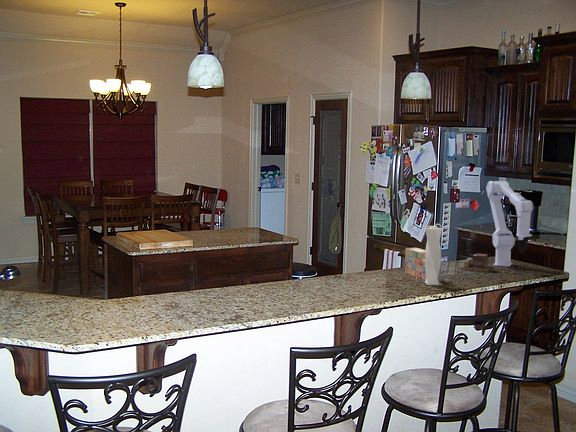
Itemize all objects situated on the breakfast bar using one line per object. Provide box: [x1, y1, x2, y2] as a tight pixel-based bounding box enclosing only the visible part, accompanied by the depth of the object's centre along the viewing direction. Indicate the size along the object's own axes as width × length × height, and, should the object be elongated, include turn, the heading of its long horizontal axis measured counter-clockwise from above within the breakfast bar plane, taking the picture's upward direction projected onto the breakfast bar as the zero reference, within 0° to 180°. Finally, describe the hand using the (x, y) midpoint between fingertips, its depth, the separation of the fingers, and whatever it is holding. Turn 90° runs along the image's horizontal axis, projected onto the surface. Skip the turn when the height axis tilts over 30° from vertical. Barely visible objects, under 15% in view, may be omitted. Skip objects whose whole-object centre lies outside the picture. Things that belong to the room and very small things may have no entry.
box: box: [472, 253, 489, 269], centre depth 323 cm, size 6×6×7 cm
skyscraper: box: [424, 223, 444, 286], centre depth 288 cm, size 8×8×28 cm
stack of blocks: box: [404, 247, 443, 282], centre depth 304 cm, size 21×6×12 cm, turn 22°
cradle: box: [463, 257, 494, 273], centre depth 324 cm, size 12×12×5 cm
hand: (522, 252), depth 317 cm, fingers closed
